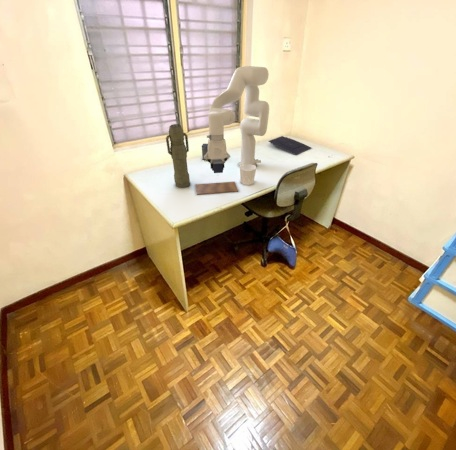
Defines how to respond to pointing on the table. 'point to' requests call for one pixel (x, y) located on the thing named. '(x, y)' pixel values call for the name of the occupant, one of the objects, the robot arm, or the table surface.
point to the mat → (216, 188)
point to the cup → (247, 174)
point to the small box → (204, 150)
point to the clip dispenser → (217, 166)
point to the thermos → (178, 155)
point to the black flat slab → (289, 145)
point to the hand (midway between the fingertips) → (217, 169)
